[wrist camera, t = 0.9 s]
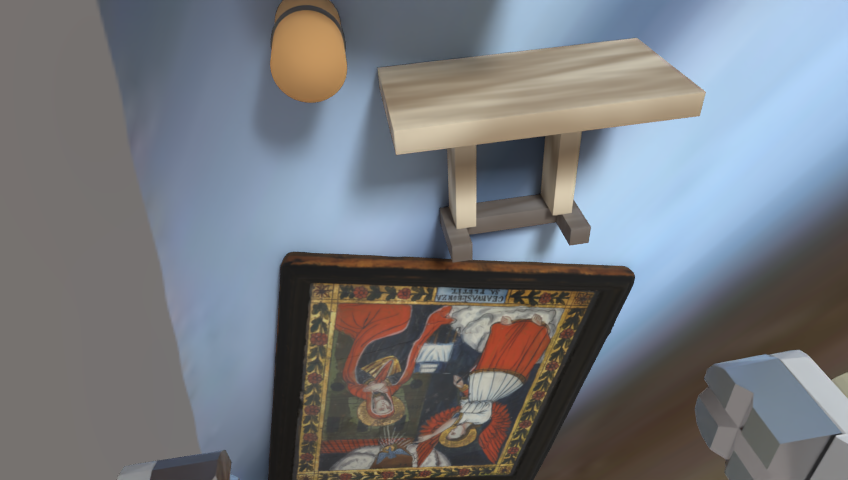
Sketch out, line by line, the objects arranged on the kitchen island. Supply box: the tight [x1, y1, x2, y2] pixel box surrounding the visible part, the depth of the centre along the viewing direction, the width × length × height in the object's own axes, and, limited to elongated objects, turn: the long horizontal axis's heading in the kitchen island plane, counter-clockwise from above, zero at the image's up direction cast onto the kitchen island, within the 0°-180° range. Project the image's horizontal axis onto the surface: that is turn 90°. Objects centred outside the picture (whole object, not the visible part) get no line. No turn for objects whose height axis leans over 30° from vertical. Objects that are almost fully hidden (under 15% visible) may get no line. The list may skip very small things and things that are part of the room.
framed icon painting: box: [268, 252, 635, 480], centre depth 61 cm, size 38×35×3 cm
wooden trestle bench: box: [377, 38, 706, 262], centre depth 41 cm, size 14×18×9 cm
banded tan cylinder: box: [270, 0, 347, 103], centre depth 34 cm, size 4×4×7 cm
